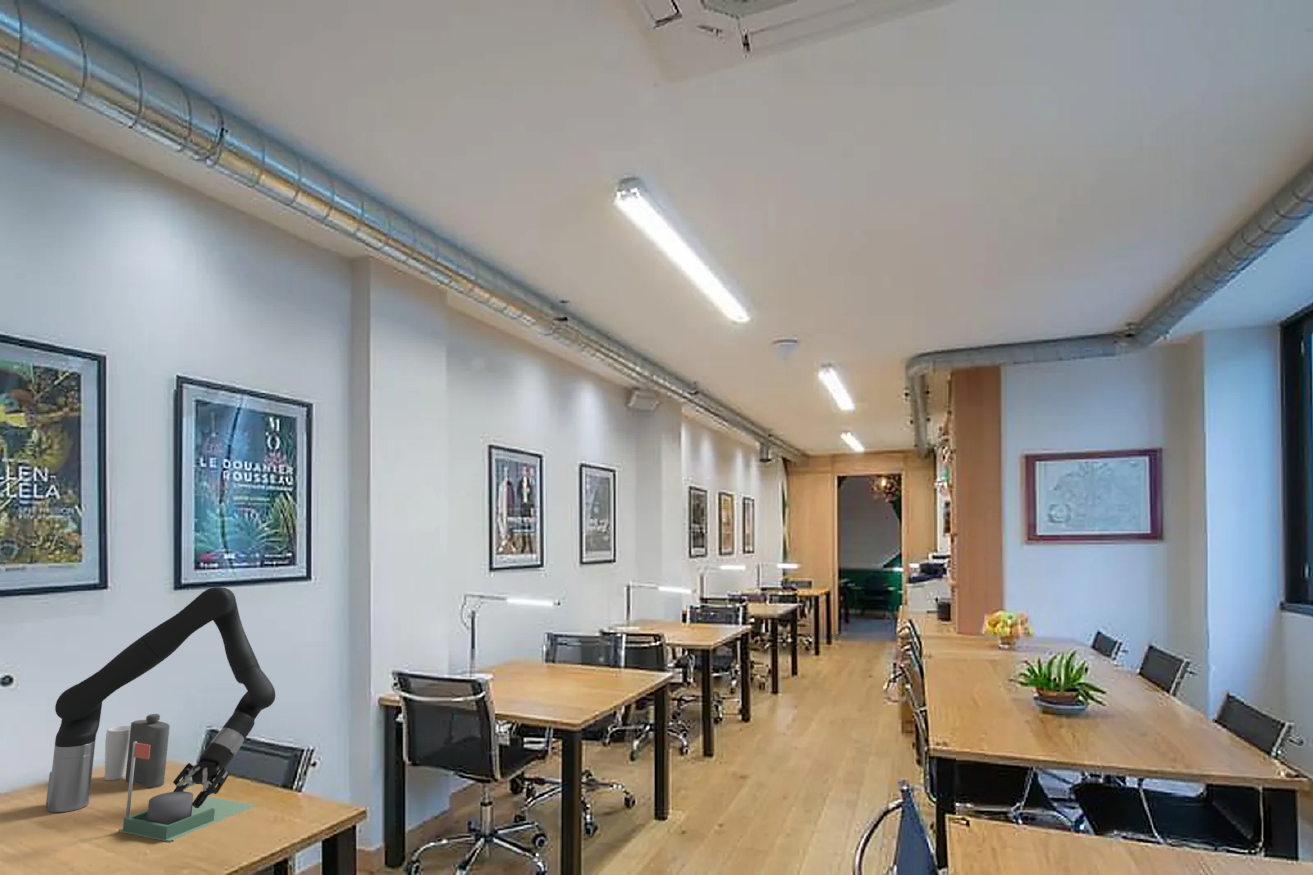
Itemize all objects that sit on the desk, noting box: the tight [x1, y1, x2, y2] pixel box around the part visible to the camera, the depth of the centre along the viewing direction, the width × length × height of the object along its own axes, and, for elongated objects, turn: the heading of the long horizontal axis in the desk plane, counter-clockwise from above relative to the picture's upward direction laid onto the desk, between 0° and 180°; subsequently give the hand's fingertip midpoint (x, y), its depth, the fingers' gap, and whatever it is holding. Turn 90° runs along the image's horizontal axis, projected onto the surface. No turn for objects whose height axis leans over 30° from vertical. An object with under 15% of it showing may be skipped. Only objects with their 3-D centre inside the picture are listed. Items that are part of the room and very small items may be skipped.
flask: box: [124, 713, 170, 789], centre depth 238 cm, size 15×6×20 cm, turn 63°
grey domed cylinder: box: [147, 791, 194, 825], centre depth 204 cm, size 10×10×7 cm
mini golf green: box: [118, 741, 258, 843], centre depth 211 cm, size 18×27×22 cm, turn 161°
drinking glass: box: [103, 725, 131, 781], centre depth 241 cm, size 7×7×15 cm
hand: (182, 804), depth 207 cm, fingers open, 8 cm apart
